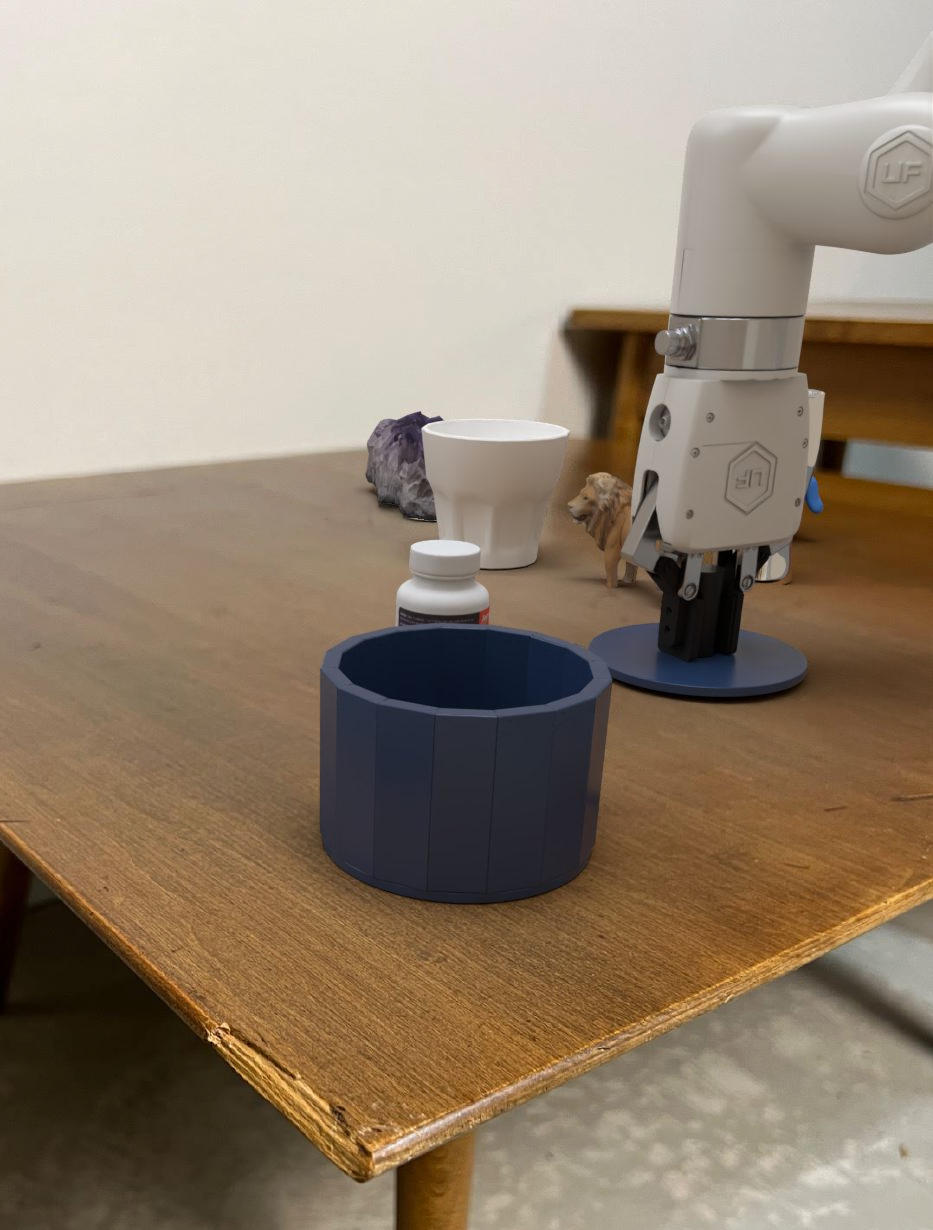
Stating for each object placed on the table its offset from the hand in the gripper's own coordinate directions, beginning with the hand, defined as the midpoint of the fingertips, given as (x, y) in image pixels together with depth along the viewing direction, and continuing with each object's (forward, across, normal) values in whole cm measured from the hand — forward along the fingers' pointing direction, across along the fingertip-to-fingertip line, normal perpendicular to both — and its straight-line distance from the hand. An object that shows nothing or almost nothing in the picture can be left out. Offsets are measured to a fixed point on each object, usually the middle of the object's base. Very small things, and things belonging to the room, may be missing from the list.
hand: (696, 649), depth 78 cm
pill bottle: (+2, -18, +1) cm, 18 cm away
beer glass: (+2, +21, +18) cm, 28 cm away
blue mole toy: (+2, +32, +29) cm, 43 cm away
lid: (+1, 0, 0) cm, 1 cm away
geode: (+1, +11, +56) cm, 57 cm away
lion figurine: (+2, +8, +16) cm, 18 cm away
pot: (+2, -26, -14) cm, 29 cm away
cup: (+2, +4, +32) cm, 33 cm away
